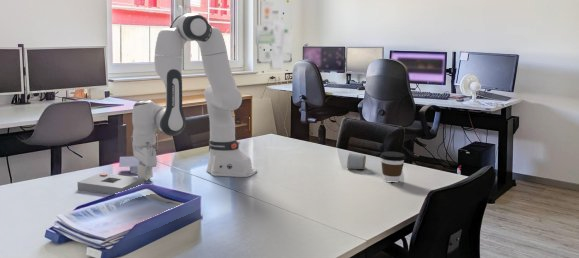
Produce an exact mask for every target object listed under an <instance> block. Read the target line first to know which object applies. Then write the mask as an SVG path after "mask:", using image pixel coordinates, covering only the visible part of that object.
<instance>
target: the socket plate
mask: <svg viewBox="0 0 579 258" xmlns="http://www.w3.org/2000/svg"><path fill="white" fill-rule="evenodd" d="M141 184H144V182H143V178H138V176H137V177H135V176H129V175H121V174H111V173H103V172H100V173H97V174H95V175H92V176H90V177H87V178H85V179H83V180H80V181H77V191H85V192H93V193H100V194H108V195H113V194H115V193H118V192H122V191H125V190H128V189H130V188H133V187H136V186H138V185H141Z"/></svg>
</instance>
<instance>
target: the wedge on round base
mask: <svg viewBox="0 0 579 258" xmlns="http://www.w3.org/2000/svg"><path fill="white" fill-rule="evenodd" d="M138 165H139V160H138V159H136V158H135V157H134V155H132V156H120V157H119V164H118V167H119V168H126V167H127V168H129V172H130V174H137V175H138Z"/></svg>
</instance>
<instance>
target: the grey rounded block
mask: <svg viewBox="0 0 579 258" xmlns="http://www.w3.org/2000/svg"><path fill="white" fill-rule="evenodd" d="M366 162H367V156H366V155H365V154H361V153H356V152H348V154H347V161H346V169H347V168H349V169H348V170H357V169H364V170H365V168H366V164H367V163H366Z"/></svg>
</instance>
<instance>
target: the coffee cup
mask: <svg viewBox="0 0 579 258" xmlns="http://www.w3.org/2000/svg"><path fill="white" fill-rule="evenodd" d="M379 158H380V159H381V162H380V163H381V171H382V178H383V181H384V180H386V181H399V182H400V179H401V176H402V173H403V169H404V168H403V167H404V163H405V162H404V161H405V160H406V159H407V157H406V155H405V154H404V153H403V152H398V151H383V152H381V153H380V155H379Z"/></svg>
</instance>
